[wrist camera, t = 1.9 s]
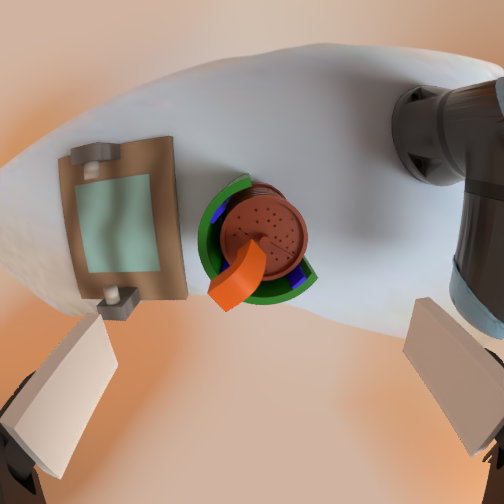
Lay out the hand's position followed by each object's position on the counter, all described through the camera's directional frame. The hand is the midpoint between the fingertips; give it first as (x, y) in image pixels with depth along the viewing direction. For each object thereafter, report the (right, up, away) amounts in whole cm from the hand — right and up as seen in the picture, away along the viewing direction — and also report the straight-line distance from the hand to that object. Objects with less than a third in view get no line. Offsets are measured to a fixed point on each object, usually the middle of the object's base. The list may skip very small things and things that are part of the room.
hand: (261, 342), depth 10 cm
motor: (0, +8, +26) cm, 27 cm away
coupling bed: (-19, +7, +26) cm, 33 cm away
